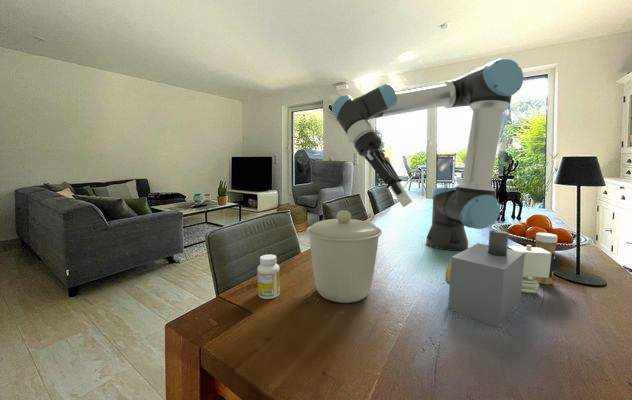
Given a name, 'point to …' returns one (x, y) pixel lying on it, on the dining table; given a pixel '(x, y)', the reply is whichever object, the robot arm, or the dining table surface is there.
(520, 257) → the block
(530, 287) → the pneumatic valve
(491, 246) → the grey upright block
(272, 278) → the supplement bottle
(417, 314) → the dining table surface
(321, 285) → the canister
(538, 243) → the sprinkles bottle
